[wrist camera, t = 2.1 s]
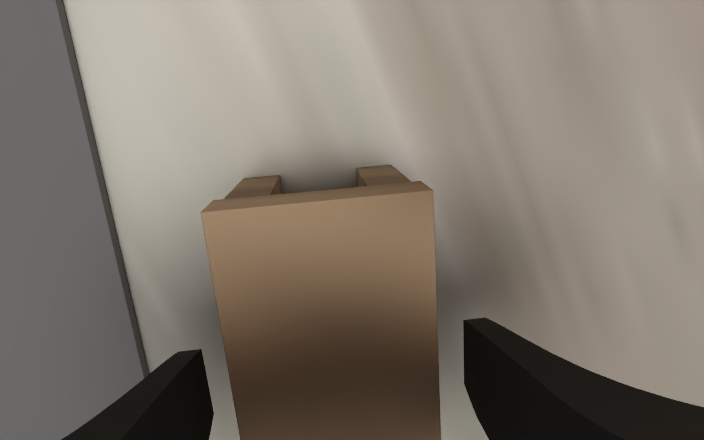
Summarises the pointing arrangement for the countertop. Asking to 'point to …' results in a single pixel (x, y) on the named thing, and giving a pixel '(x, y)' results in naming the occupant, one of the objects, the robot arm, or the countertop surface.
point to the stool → (328, 308)
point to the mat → (55, 241)
